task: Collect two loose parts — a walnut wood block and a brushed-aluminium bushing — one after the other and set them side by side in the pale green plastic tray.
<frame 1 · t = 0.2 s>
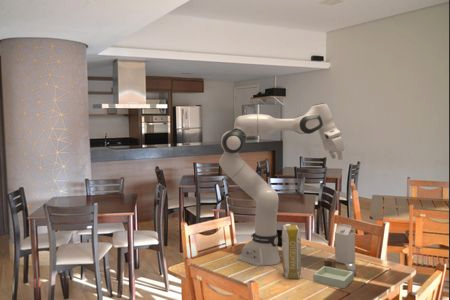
hand: (337, 158, 203), 51 cm above the table, tool tilted 20°, fingers open, 8 cm apart
juice carton: (291, 275, 183), on the table
walnut block: (329, 270, 189), on the table
tray: (333, 280, 177), on the table
milk carton: (345, 262, 200), on the table
aluminium bushing: (350, 274, 183), on the table
coffee mug: (283, 245, 230), on the table
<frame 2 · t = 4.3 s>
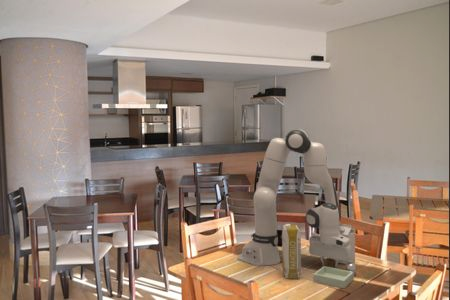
hand: (329, 266, 189), 2 cm above the table, tool pointing down, fingers closed on walnut block, 4 cm apart
walnut block: (329, 270, 189), on the table, touching gripper
everything else where it was.
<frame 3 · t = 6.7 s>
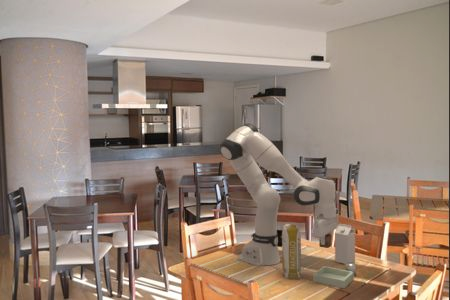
hand: (325, 242, 178), 16 cm above the table, tool pointing down, fingers closed on walnut block, 4 cm apart
walnut block: (325, 246, 178), point 15 cm above the table, touching gripper
everything else where it was.
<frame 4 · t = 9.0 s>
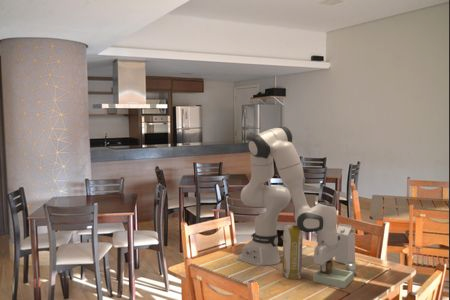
hand: (326, 269, 178), 4 cm above the table, tool pointing down, fingers closed on walnut block, 4 cm apart
juice carton: (291, 276, 184), on the table, touching arm
walnut block: (326, 272, 178), point 3 cm above the table, touching gripper
everything else where it was.
when the fingers open (4 cm above the table, at t = 9.2 s): walnut block drops 2 cm, resting on tray.
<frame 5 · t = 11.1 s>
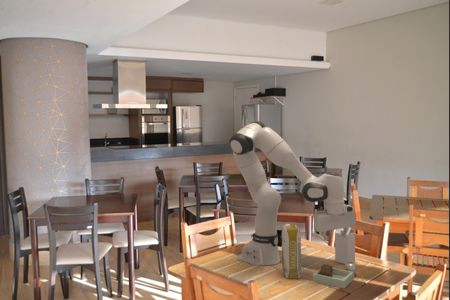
hand: (335, 238, 179), 18 cm above the table, tool pointing down, fingers open, 8 cm apart
juice carton: (291, 275, 183), on the table
walnut block: (326, 277, 178), point 1 cm above the table, touching tray
everything else where it was.
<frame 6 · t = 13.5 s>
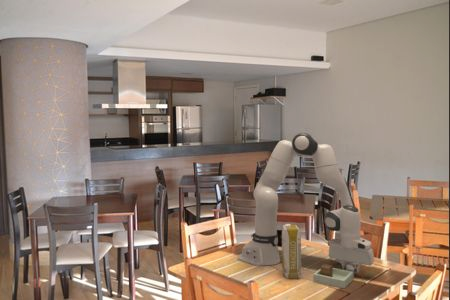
hand: (350, 270, 183), 2 cm above the table, tool pointing down, fingers closed on aluminium bushing, 4 cm apart
aluminium bushing: (350, 274, 183), on the table, touching gripper
everything else where it was.
when the fingers open (4 cm above the table, at t = 18.6 s): aluminium bushing stays where it is, resting on tray.
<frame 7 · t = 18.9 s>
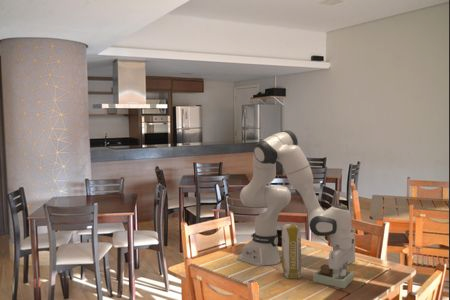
hand: (341, 273, 174), 4 cm above the table, tool pointing down, fingers open, 8 cm apart
aluminium bushing: (340, 280, 175), point 1 cm above the table, touching tray
everything else where it was.
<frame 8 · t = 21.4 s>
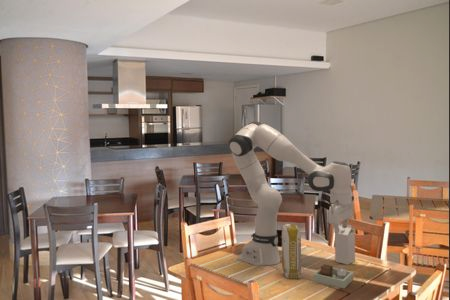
hand: (340, 230, 173), 23 cm above the table, tool pointing down, fingers open, 8 cm apart
nothing on the table moved.
at the end: walnut block inside the target area on the tray (3.1 cm from its centre), point 0.8 cm above the tray's base; aluminium bushing inside the target area on the tray (3.4 cm from its centre), point 0.8 cm above the tray's base; the gripper is holding nothing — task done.
